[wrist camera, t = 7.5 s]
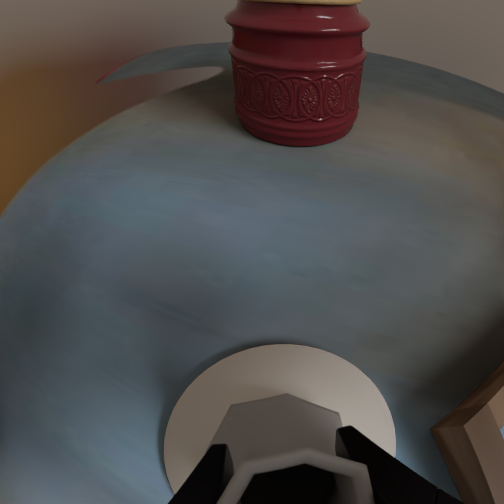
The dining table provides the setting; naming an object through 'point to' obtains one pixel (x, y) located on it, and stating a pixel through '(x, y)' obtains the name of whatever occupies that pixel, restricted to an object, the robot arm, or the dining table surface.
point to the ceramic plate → (268, 385)
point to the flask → (288, 455)
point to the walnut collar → (476, 442)
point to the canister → (297, 68)
